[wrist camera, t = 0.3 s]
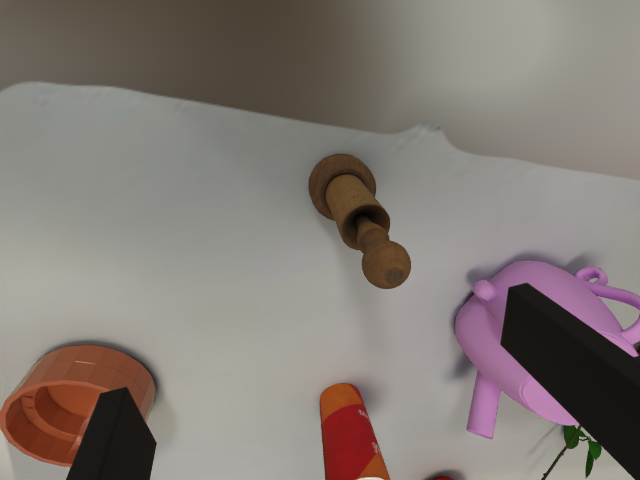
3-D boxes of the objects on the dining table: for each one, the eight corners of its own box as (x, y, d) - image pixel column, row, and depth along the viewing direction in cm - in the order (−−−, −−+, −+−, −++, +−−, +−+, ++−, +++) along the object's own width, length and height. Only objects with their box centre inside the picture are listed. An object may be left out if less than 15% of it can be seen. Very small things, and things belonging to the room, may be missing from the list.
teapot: (602, 248, 45) (733, 320, 32) (554, 368, 54) (640, 461, 42) (460, 256, 43) (540, 338, 30) (435, 380, 52) (488, 482, 40)
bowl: (13, 347, 41) (-26, 389, 35) (141, 334, 42) (123, 373, 37) (57, 428, 47) (30, 474, 42) (167, 414, 49) (155, 457, 43)
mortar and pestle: (374, 154, 36) (458, 226, 20) (367, 213, 39) (435, 318, 23) (309, 152, 35) (342, 226, 19) (306, 213, 38) (333, 322, 22)
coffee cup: (358, 419, 54) (387, 535, 41) (305, 415, 52) (318, 536, 39) (375, 379, 51) (413, 492, 37) (320, 374, 49) (339, 490, 35)
